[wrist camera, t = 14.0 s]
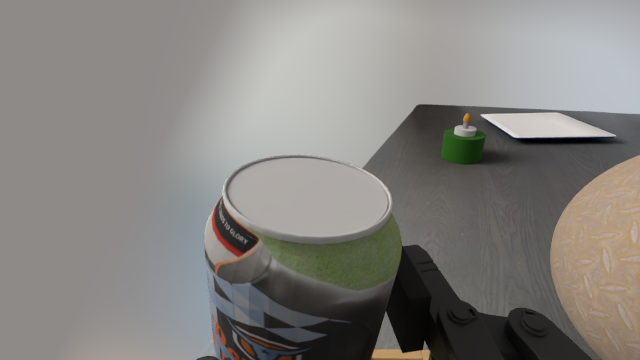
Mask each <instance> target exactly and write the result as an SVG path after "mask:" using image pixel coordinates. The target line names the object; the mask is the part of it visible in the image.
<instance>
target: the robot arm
mask: <svg viewBox="0 0 640 360" xmlns="http://www.w3.org/2000/svg"><path fill="white" fill-rule="evenodd" d="M386 312H387V315H388V317H389V320H390V322H391V325H392V328H393V330H394V333H395V335H396V338H397V341H398V343H399V346H400V348H401V351H402V353H407V352H414V351H420V350H423V346H424V340H425V342H426V344H427V346H428V348H429V350H430V355H429V360H592V359H591V358H590V357H589V356H588V355H587V354H586V353H585V352H583V351H582V350H581V349H580V348H579V347H578V346H577V345H576V344H575V343H574V342H573V341H572V340H571V339H570V338H569V337H568V336H566V335H565V334H564V333H563V332H562V331H561V330H560V329H559V328H558V327H557V326H556V325H555V324H554V323H553V322H552V321H550V320H549V319H548V318H546V317H545V316H544V315H542V314H540V313H538V312H536V311H534V310H531V309H527V308H515V309H513V310H512V311H510V313H509V315H508V317H502V316H495V315H488V314H483V313H480V312H478V311H477V310H476V309H475V308H474V307H473V306H471V305H470V304H469V303H466V302H464V301H462V300H460V299H459V298H458V297H457V295H456V294H455V292H454V291H453V289H452V288H451V286H450V285H449V283H448V282H447V280H446V279H445V278H444V276H443V275H442V273H441V272H440V270H438V267H437V266H436V264H435V263H433V260H432V259H431V257H430V256H429V254H428V253H427V252H426V251H425V250H424V249H422V248H421V247H420V246H418V245H411V246H402V251H401V259H400V263H399V267H398V270H397V274H396V277H395V280H394V284H393V287H392V291H391V294H390V297H389V301H388V304H387V308H386ZM197 360H219V359H218V358H217V357H213V356H205V357H201V358H198V359H197ZM223 360H232V359H231V358H229V357H227V358H225V359H223Z"/></svg>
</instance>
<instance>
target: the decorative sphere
mask: <svg viewBox="0 0 640 360" xmlns="http://www.w3.org/2000/svg"><path fill="white" fill-rule="evenodd" d="M550 262H551V272H552V277H553V282H554V285H555V288H556V292H557V295H558V297H559V299H560V302H561V304H562V306H563V308H564V310H565V312H566V314H567V315H568V317H569V319H570V320H571V322H572V324H573V325H574V327H575V328H576V330H577V331H578V332H579V334H580V335H581V336H582V338H583V339H584V340H585V341H586V343H587V344H588V345H589V346H590V347H591V348H592V349H593V351H594V352H595V353H596V354H597V355H598V356H599V357H600V358H601V359H602V360H640V155H639V156H636V157H634V158H631V159H629V160H627V161H625V162H623V163H620V164H618V165H616V166H615V167H613V168H611V169H609V170H607V171H606V172H604V173H603V174H601V175H599V176H598V177H597V178H595V179H594V180H592V181H591V182H590V183H589V184H588V185H586V186H585V187H584V188H583V189H582V190H581V191H580V192H579V193H578V194H577V195H576V196H575V197H574V198H573V199H572V200H571V202H570V203H569V204H568V205H567V207H566V208H565V210H564V211H563V213H562V215H561V217H560V219H559V221H558V223H557V225H556V228H555V231H554V234H553V238H552V243H551V252H550Z"/></svg>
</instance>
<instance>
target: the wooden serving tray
mask: <svg viewBox="0 0 640 360" xmlns="http://www.w3.org/2000/svg"><path fill="white" fill-rule="evenodd" d="M429 355H430V350H420V351H414V352H407V353H402V351H401V350H391V349H374V352H373V355H372V359H371V360H429Z"/></svg>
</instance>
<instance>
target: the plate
mask: <svg viewBox="0 0 640 360" xmlns="http://www.w3.org/2000/svg"><path fill="white" fill-rule="evenodd" d="M481 117H483V118H484V119H486V120H487V121H489V122H490V123H492V124H493V125H495V126H496V127H498V128H499V129H501V130H502V131H504V132H505V133H507V134H508V135H510V136H511V137H513V138H514V139H554V138H614V137H616V135H614V134H611V133H609V132H606V131H604V130H601V129H599V128H596V127H593V126H591V125H588V124H586V123H583V122H581V121H578V120H576V119H573V118H571V117H568V116H565V115H563V114H560V113H517V114H482V115H481Z"/></svg>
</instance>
